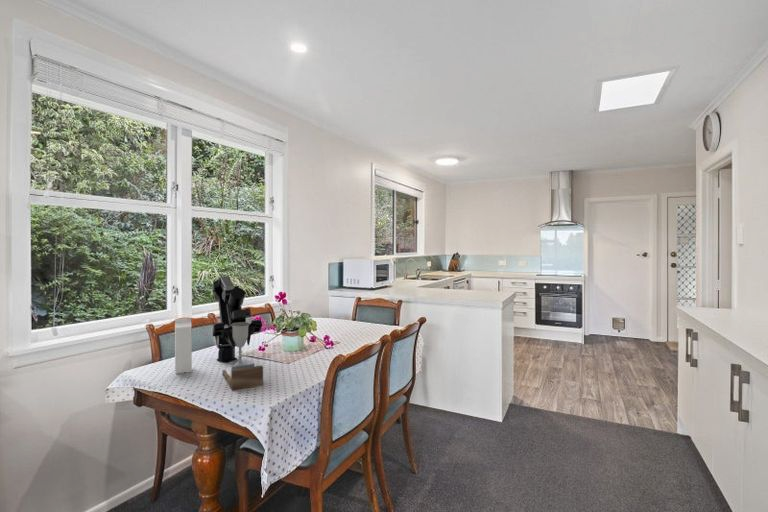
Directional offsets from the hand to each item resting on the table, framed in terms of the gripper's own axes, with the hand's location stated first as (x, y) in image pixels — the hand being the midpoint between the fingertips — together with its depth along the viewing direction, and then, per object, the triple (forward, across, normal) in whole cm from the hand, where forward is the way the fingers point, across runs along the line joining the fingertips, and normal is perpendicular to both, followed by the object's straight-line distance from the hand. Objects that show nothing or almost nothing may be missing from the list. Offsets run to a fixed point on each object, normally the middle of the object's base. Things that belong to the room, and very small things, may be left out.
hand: (240, 345), depth 157 cm
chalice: (+6, 0, +8) cm, 10 cm away
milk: (-5, -19, +24) cm, 31 cm away
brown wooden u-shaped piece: (+10, 0, +8) cm, 13 cm away
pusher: (+12, 0, +6) cm, 13 cm away
